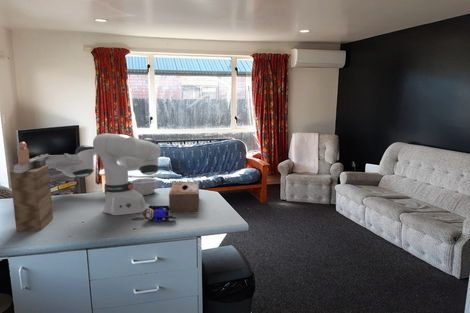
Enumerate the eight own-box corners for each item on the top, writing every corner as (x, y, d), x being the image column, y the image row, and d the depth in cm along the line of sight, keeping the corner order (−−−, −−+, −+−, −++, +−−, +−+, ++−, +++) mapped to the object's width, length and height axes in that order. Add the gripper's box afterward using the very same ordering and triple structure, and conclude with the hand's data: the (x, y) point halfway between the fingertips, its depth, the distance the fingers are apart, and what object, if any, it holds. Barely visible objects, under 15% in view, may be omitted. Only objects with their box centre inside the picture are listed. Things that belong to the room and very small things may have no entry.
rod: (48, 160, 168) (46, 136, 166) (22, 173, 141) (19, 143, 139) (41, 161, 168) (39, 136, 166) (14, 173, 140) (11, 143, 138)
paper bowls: (135, 190, 215) (134, 177, 214) (159, 189, 215) (159, 177, 214) (128, 197, 200) (128, 183, 199) (155, 196, 200) (154, 183, 199)
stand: (53, 218, 163) (47, 158, 158) (41, 230, 149) (35, 164, 145) (30, 220, 162) (24, 159, 157) (16, 231, 148) (9, 164, 143)
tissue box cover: (198, 213, 173) (198, 193, 171) (169, 213, 171) (168, 194, 170) (198, 198, 198) (198, 181, 196) (173, 199, 197) (173, 182, 195)
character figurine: (175, 224, 158) (142, 224, 158) (177, 217, 165) (146, 217, 165) (174, 208, 156) (141, 208, 156) (176, 202, 163) (145, 202, 163)
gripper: (83, 168, 197) (76, 159, 184) (45, 169, 194) (35, 160, 181) (84, 157, 199) (77, 148, 186) (46, 158, 196) (36, 149, 183)
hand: (56, 154), depth 184 cm, fingers open, 8 cm apart
